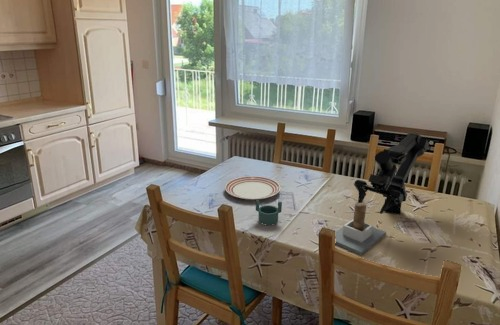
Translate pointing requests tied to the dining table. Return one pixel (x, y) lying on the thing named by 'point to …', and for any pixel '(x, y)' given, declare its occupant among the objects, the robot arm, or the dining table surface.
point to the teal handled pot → (268, 213)
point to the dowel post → (359, 216)
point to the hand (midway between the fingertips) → (369, 209)
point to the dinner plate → (252, 187)
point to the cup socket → (358, 237)
